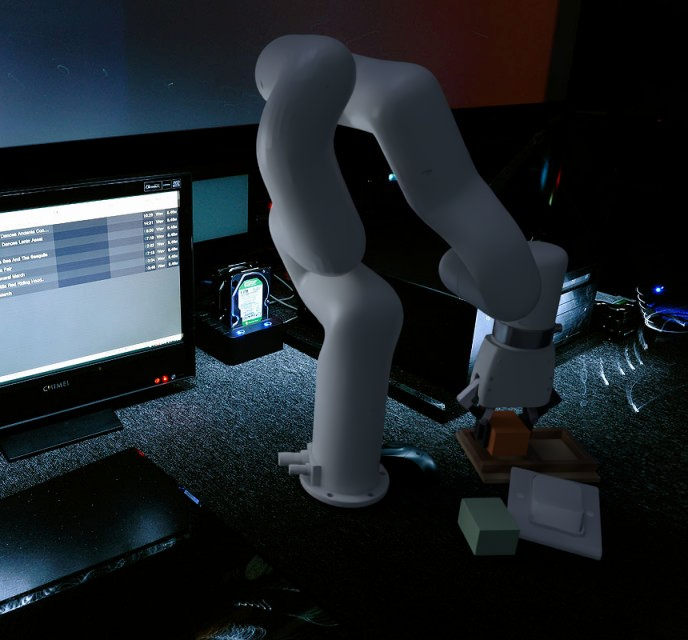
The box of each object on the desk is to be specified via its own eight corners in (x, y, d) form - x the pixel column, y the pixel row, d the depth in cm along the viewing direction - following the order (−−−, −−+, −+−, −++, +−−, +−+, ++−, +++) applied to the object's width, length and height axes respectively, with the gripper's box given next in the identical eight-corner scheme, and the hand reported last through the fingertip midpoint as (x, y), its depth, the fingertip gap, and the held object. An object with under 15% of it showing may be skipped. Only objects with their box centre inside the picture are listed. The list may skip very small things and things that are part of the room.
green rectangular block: (474, 555, 82) (479, 530, 80) (457, 522, 87) (461, 498, 86) (515, 555, 82) (520, 529, 80) (495, 521, 87) (500, 497, 86)
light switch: (509, 514, 83) (515, 450, 93) (503, 537, 85) (510, 473, 95) (608, 541, 79) (603, 471, 89) (599, 564, 81) (595, 494, 91)
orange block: (491, 456, 96) (495, 432, 94) (476, 432, 102) (480, 410, 100) (526, 455, 96) (531, 432, 94) (508, 432, 102) (513, 409, 100)
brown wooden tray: (483, 483, 94) (486, 470, 94) (455, 435, 105) (457, 423, 105) (599, 482, 94) (603, 469, 93) (558, 434, 105) (561, 422, 104)
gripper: (570, 319, 95) (546, 427, 102) (450, 321, 95) (435, 429, 102) (598, 342, 88) (570, 456, 95) (469, 344, 88) (451, 458, 95)
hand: (500, 441), depth 99 cm, fingers closed on orange block, 5 cm apart
